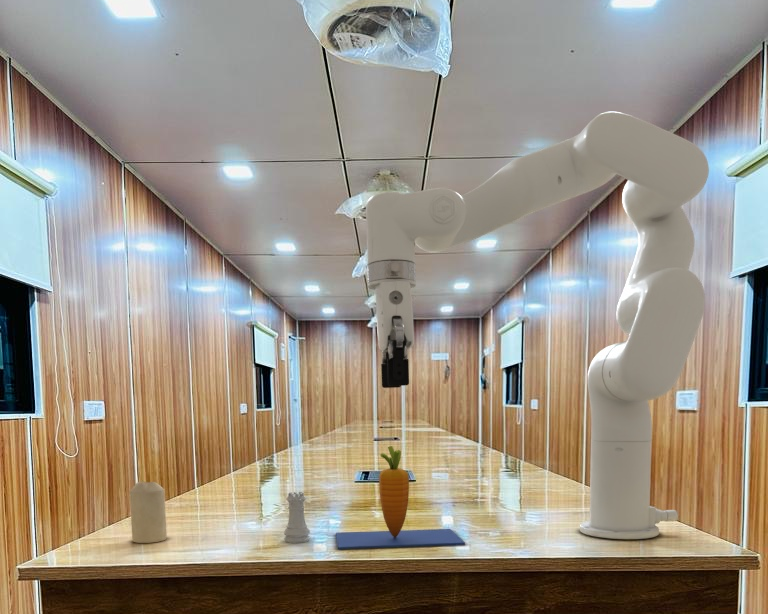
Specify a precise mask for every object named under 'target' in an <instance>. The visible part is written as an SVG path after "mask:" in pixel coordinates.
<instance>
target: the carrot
mask: <svg viewBox="0 0 768 614" xmlns="http://www.w3.org/2000/svg"><path fill="white" fill-rule="evenodd" d="M387 449H388V452H389V454H390V457H389V456H388V455H387V454H386V453H383V452H381V453H380V457H381V458H383V459H384V460H385V461H386V462H387V464H388V466H389V468H385V469H382V470H381V471H380V472H379V475H378V483H379V484H378V486H379V500H380V505H381V512H382V516H383V519H384V522H385V526H386V527H387V529H388V531H390V533H391V535H392V536H393V537H394V538H395V537H397V536H398V535H399V532H400V530H402V528H403V526H404V523H405V520H406V516H407V512H408V505H409V497H410V496H409V493H410V475H409V472H407V470H405V469H404V468H400V467H399V465H400V462H401V457H402V451H401V450H400V449H394V447H393V446H392V445H390V446H387Z"/></svg>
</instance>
